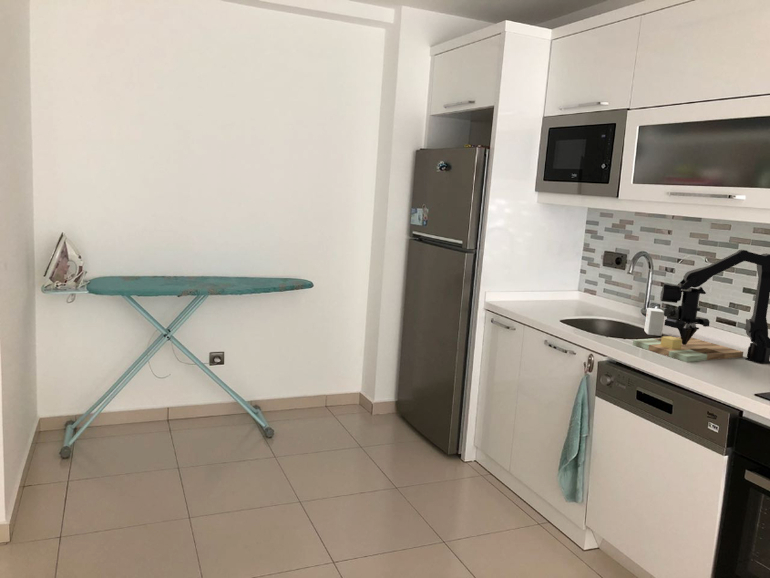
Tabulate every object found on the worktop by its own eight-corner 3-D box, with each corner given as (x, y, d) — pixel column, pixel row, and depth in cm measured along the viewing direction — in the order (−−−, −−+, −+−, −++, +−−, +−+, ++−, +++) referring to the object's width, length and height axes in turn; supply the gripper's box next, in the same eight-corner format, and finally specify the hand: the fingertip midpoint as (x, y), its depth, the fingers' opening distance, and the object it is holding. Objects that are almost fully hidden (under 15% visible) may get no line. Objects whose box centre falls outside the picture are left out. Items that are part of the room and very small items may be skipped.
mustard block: (680, 348, 235) (682, 339, 234) (671, 349, 232) (673, 340, 232) (669, 345, 239) (670, 336, 239) (660, 345, 237) (661, 336, 236)
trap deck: (742, 356, 238) (743, 351, 237) (686, 362, 223) (687, 356, 223) (687, 341, 259) (688, 336, 258) (632, 344, 244) (633, 339, 244)
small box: (661, 336, 265) (665, 312, 263) (647, 334, 266) (651, 310, 264) (657, 332, 272) (660, 308, 271) (643, 331, 273) (647, 307, 272)
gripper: (687, 299, 248) (681, 338, 250) (654, 301, 239) (649, 340, 241) (713, 305, 238) (707, 345, 241) (680, 306, 229) (674, 348, 232)
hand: (684, 344), depth 239 cm, fingers closed
